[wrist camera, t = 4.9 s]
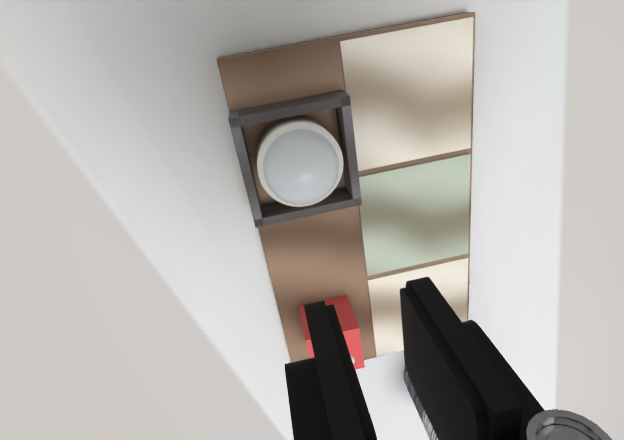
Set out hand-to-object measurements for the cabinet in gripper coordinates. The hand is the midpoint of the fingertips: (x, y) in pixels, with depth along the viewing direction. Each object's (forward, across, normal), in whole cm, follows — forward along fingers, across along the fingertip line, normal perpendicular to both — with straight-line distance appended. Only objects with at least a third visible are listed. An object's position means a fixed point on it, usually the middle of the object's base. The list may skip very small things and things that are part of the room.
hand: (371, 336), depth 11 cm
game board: (+17, -4, +6) cm, 19 cm away
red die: (+17, 0, +13) cm, 21 cm away
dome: (+16, 0, 0) cm, 16 cm away
